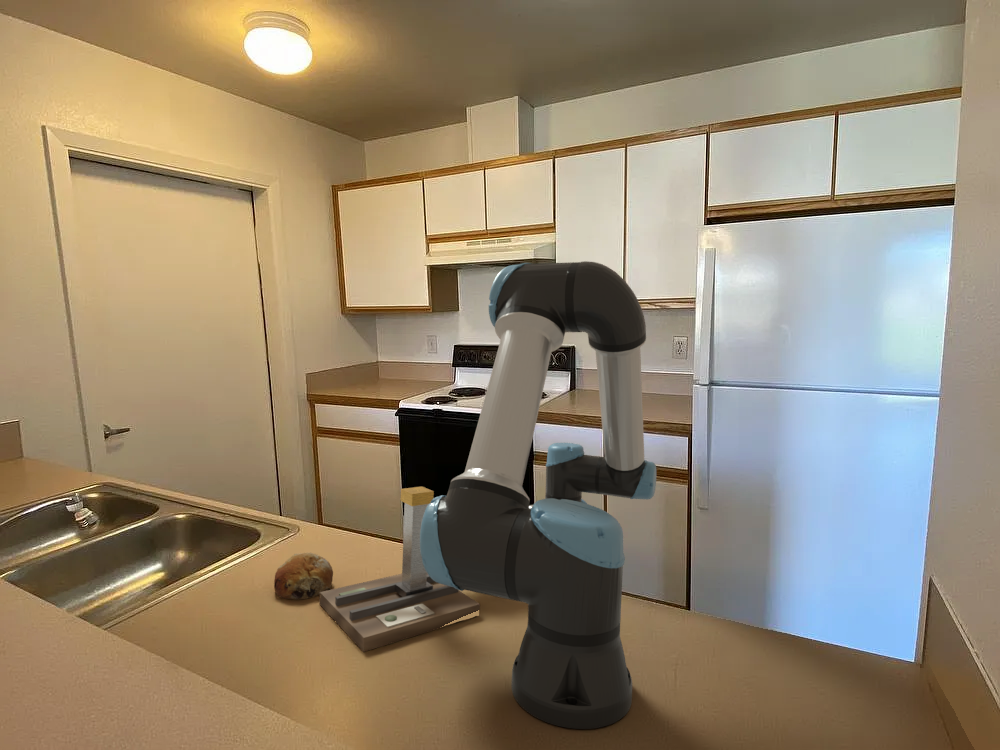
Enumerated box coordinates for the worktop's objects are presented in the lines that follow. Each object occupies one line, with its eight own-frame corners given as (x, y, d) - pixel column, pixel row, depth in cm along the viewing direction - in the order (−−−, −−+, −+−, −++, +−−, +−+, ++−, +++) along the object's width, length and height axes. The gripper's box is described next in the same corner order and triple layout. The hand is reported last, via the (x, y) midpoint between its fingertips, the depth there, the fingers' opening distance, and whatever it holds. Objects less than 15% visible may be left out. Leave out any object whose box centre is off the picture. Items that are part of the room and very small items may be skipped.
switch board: (479, 616, 89) (480, 596, 89) (363, 651, 77) (364, 629, 77) (424, 578, 103) (425, 562, 103) (319, 604, 91) (320, 585, 91)
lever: (432, 592, 92) (436, 490, 91) (405, 599, 88) (409, 494, 88) (420, 584, 95) (424, 486, 94) (394, 590, 92) (398, 489, 91)
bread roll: (336, 603, 100) (345, 557, 103) (315, 601, 90) (325, 551, 94) (284, 599, 101) (294, 553, 104) (258, 596, 91) (270, 547, 95)
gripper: (548, 554, 103) (439, 581, 88) (505, 535, 113) (402, 556, 99) (549, 515, 102) (441, 535, 88) (506, 499, 113) (404, 515, 98)
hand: (421, 546), depth 93 cm, fingers closed
